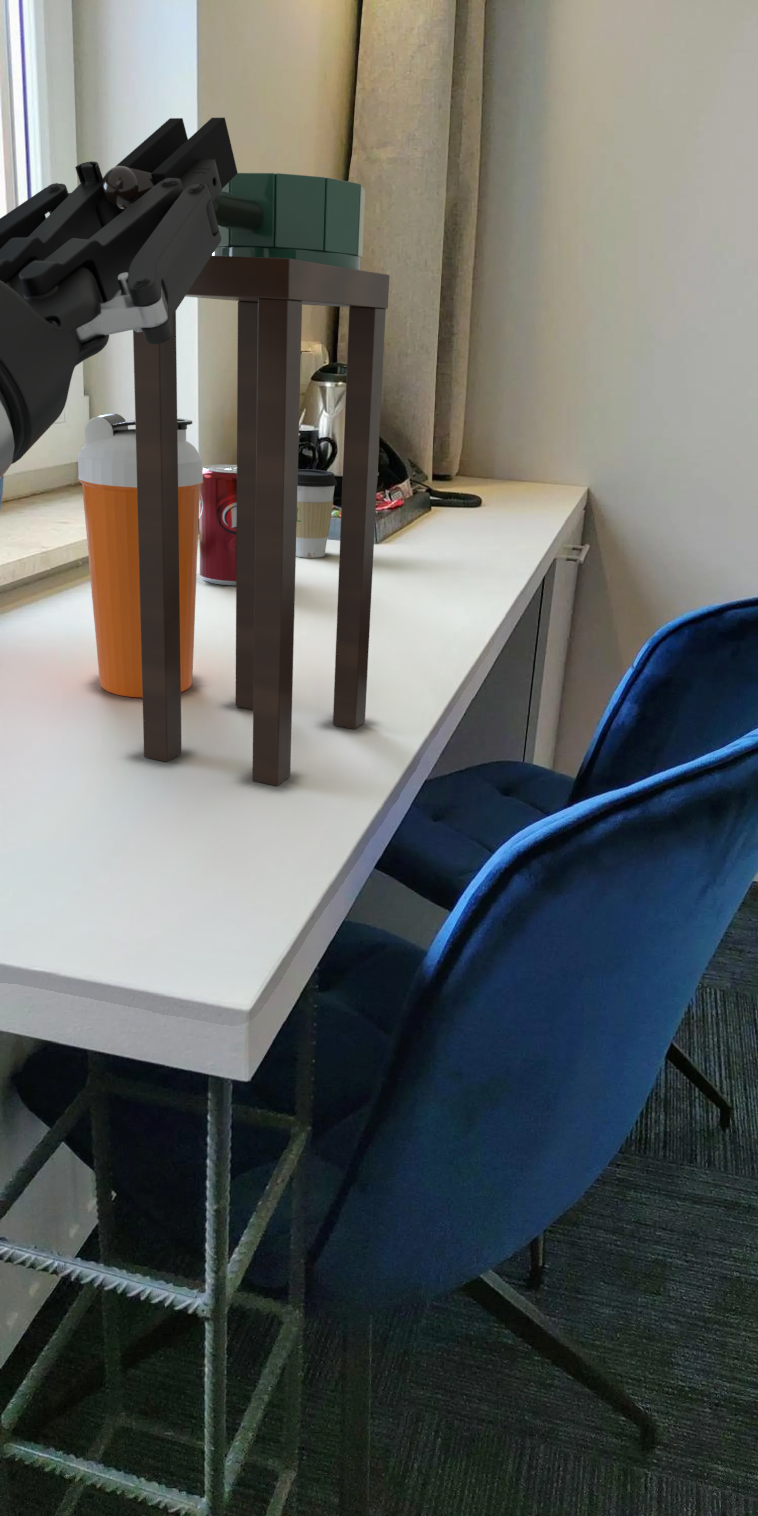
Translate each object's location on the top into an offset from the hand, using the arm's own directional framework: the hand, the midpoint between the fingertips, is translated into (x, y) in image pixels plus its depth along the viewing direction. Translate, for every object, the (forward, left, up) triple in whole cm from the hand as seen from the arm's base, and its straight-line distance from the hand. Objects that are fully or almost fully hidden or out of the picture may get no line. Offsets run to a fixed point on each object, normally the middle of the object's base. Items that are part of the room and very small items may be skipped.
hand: (203, 146), depth 58 cm
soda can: (-10, +56, -35) cm, 67 cm away
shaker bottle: (-9, +17, -35) cm, 40 cm away
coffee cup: (-4, +73, -35) cm, 81 cm away
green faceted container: (+1, +3, -5) cm, 6 cm away
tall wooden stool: (+2, +7, -35) cm, 36 cm away
